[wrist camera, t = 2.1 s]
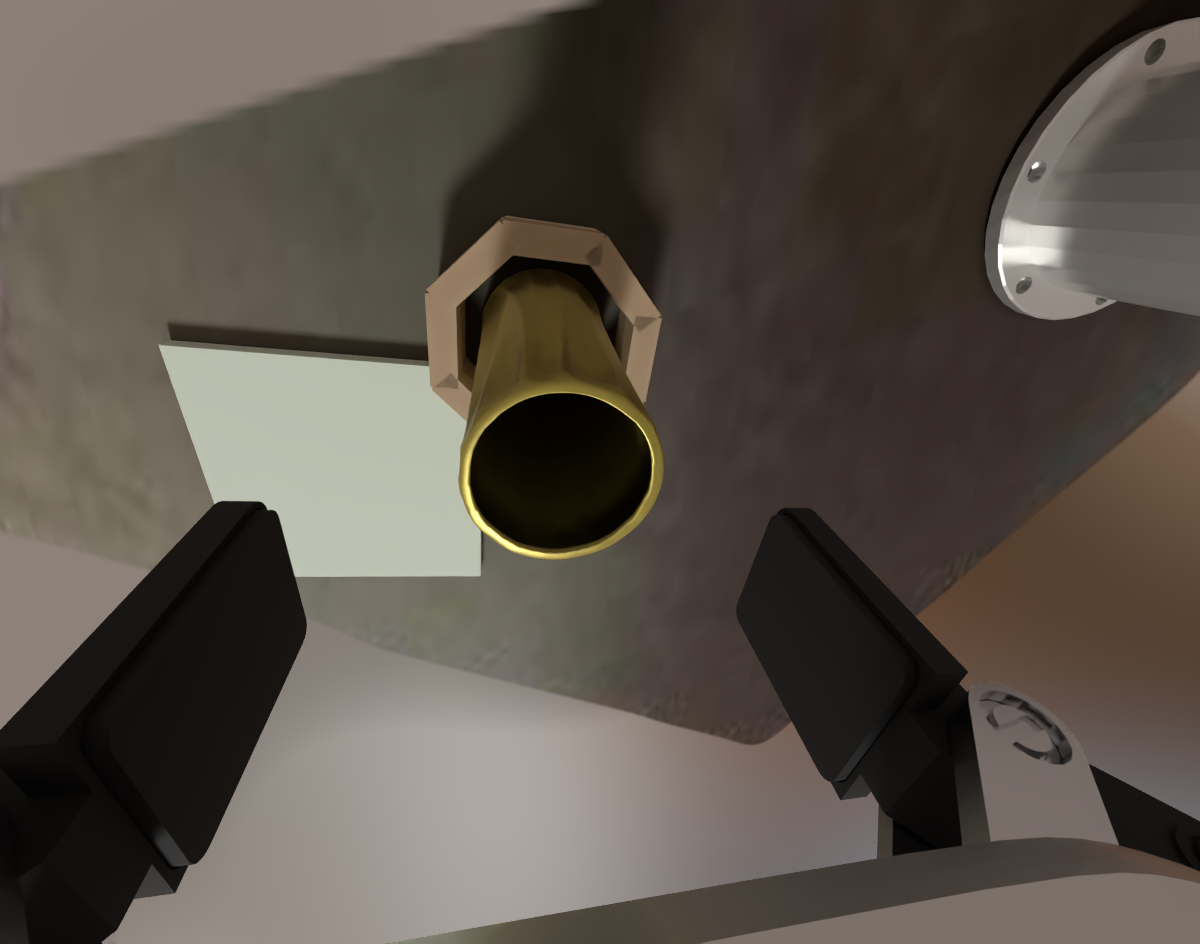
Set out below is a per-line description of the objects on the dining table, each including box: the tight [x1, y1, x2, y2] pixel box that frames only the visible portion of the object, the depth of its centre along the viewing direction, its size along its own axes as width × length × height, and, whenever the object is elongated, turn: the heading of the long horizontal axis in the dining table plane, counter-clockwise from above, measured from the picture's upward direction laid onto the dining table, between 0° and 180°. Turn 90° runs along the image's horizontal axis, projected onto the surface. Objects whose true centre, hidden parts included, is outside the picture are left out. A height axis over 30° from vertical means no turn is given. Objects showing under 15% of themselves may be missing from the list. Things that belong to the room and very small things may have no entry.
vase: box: [458, 268, 664, 559], centre depth 17 cm, size 6×6×14 cm
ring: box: [425, 215, 662, 422], centre depth 22 cm, size 10×10×4 cm
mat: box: [159, 340, 482, 577], centre depth 26 cm, size 14×14×1 cm
